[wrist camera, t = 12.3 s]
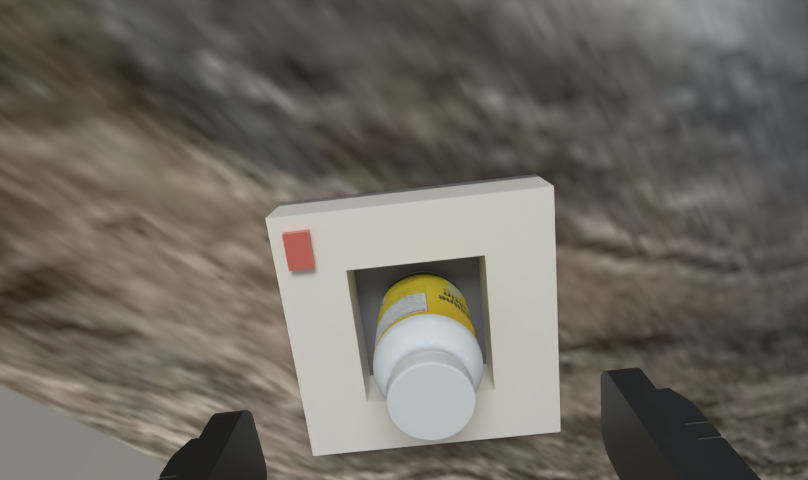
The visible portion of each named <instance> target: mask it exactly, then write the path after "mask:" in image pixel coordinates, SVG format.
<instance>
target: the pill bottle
mask: <svg viewBox="0 0 808 480" xmlns="http://www.w3.org/2000/svg"><path fill="white" fill-rule="evenodd" d="M373 373H374V378H375V382H376V384H377V387H378V389H379V391H380V392H381V394H382V395H383V397H384V398H385V399H386V404H387V411H388V414H389V416H390V418H391V420H392V422H393V423H394V424H395V426H396V427H397V428H398V429H400V430H401V431H402V432H404V433H405V434H407V435H409V436H411V437H413V438H417V439H421V440H441V439H445V438H448V437H450V436H453V435H455V434H456V433H458V432H459V431H461V430H462V429H463V428H464V427H465V426H466V425H467V424H468V423H469V421H470V420H471V418H472V416H473V414H474V411H475V407H476V391H477V389H478V387H479V385H480V382H481V379H482V375H483V357H482V353H481V349H480V346H479V343H478V340H477V336H476V333H475V330H474V327H473V323H472V320H471V317H470V313H469V310H468V307H467V303H466V300H465V298H464V296H463V294H462V292H461V290H460V289H459V288H458V287H457V285H456V284H455V283H454V282H452V281H451V280H450V279H448V278H446V277H445V276H442V275H440V274H437V273H433V272H425V271H422V272H414V273H410V274H407V275H405V276H403V277H401V278H399V279H398V280H396V281H395V282H394V283H393V284H392V285H391V286H390V287H389V288H388V289H387V291H386V292H385V294H384V296H383V298H382V300H381V303H380V308H379V316H378V324H377V332H376V340H375V349H374V358H373Z"/></svg>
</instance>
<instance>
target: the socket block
mask: <svg viewBox="0 0 808 480" xmlns="http://www.w3.org/2000/svg"><path fill="white" fill-rule="evenodd" d="M266 224H267V229H268V234H269V239H270V244H271V249H272V254H273V259H274V264H275V268H276V273H277V278H278V283H279V288H280V293H281V298H282V303H283V308H284V313H285V318H286V323H287V328H288V333H289V338H290V343H291V348H292V353H293V358H294V362H295V367H296V372H297V377H298V382H299V387H300V392H301V397H302V402H303V407H304V412H305V417H306V422H307V427H308V432H309V437H310V442H311V447H312V451H313V456H318V455H328V454H338V453H348V452H359V451H369V450H379V449H389V448H400V447H410V446H420V445H430V444H440V443H451V442H461V441H471V440H481V439H492V438H502V437H512V436H522V435H533V434H543V433H553V432H560V394H559V357H558V320H557V283H556V246H555V209H554V186H553V185H551V184H550V183H548V182H547V181H545V180H543V179H542V178H540V177H539V176H537V175H536V174H532V175H524V176H515V177H506V178H497V179H488V180H480V181H471V182H462V183H453V184H444V185H436V186H427V187H418V188H409V189H400V190H392V191H383V192H374V193H365V194H356V195H348V196H339V197H330V198H321V199H313V200H304V201H295V202H286V203H282V204H281V205H279V206H278V207H277V208H276V209H275V210H274V211H273V212H272V213H271V214H270V215H269V216H268V217H267V218H266ZM422 271H425V272H433V273H437V274H440V275H442V276H445V277H446V278H448V279H450V280H451V281H452V282H454V283H455V284H456V285H457V287H458V288H459V289H460V290H461V292H462V294H463V296H464V298H465V300H466V303H467V307H468V310H469V313H470V317H471V320H472V323H473V327H474V330H475V333H476V336H477V340H478V343H479V346H480V349H481V353H482V357H483V375H482V379H481V382H480V385H479V387H478V389H477V391H476V407H475V411H474V414H473V416H472V418H471V420H470V421H469V423H468V424H467V425H466V426H465V427H464V428H463V429H462V430H461V431H459V432H458V433H456V434H455V435H453V436H450V437H448V438H445V439H441V440H421V439H417V438H413V437H411V436H409V435H407V434H405V433H404V432H402V431H401V430H400V429H398V428H397V427H396V426H395V424H394V423H393V422H392V420H391V418H390V416H389V414H388V411H387V404H386V399H385V398H384V397H383V395H382V394H381V392H380V391H379V389H378V387H377V384H376V382H375V378H374V373H373V358H374V349H375V340H376V332H377V324H378V316H379V308H380V303H381V300H382V298H383V296H384V294H385V292H386V291H387V289H388V288H389V287H390V286H391V285H392V284H393V283H394V282H395V281H396V280H398V279H399V278H401V277H403V276H405V275H407V274H410V273H414V272H422Z"/></svg>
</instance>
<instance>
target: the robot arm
mask: <svg viewBox="0 0 808 480" xmlns="http://www.w3.org/2000/svg"><path fill="white" fill-rule="evenodd" d="M601 418H602V435H603V441H604V445H605V449H606V452H607V455H608V457H609V459H610V461H611V463H612V465H613V467H614V469H615V471H616V473H617V475H618V476H619V478H620V480H761V479H760V478H759V477H758V476H757V475H756V474H755V473H754V471H753V470H752V469H751V468H750V467H749V466H748V465H747V464H746V462H745V461H744V460H743V459H742V458H741V457H740V456H739V454H738V453H737V452H736V451H735V450H734V449H733V448H732V447H731V445H730V444H729V443H728V442H727V441H726V440H725V439H724V438H722V437H721V434H720V433H719V432H718V431H717V430H716V428H715V427H714V426H713V425H712V424H711V423H708V419H707V418H706V417H705V416H704V415H703V414H702V412H701V411H700V410H699V409H698V408H697V407H696V406H695V405H694V403H693V402H691V401H690V400H688V399H686V398H685V397H683V396H681V395H680V394H678V393H676V392H675V391H673V390H671V389H670V388H666V389H656V388H655V386H654V385H653V384H652V383H651V381H650V380H649V379H648V378H647V376H646V375H645V374H644V373H643V371H642V370H641V369H639V368H629V369H620V370H611V371H603V372H602V374H601ZM158 480H267V471H266V464H265V460H264V456H263V452H262V449H261V445H260V441H259V438H258V434H257V430H256V427H255V423H254V419H253V416H252V414H251V413H250V411H248V410H242V411H233V412H224V413H216V414H214V415H213V416H212V417H211V419H210V420H209V422H208V424H207V425H206V427H205V429H204V430H203V432H202V434H201V435H200V437H199V438H196V439H191V440H190V441H189V442H187V443H186V444H185V445H184V446H183V447H182V448H181V449H180V450H179V451H177V452H176V453H175V454H174V455H173V456H172V457H171V459H170V460H169V462H168V463H167V465H166V467H165V468H164V470H163V471H162V473H161V475H160V479H158Z"/></svg>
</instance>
